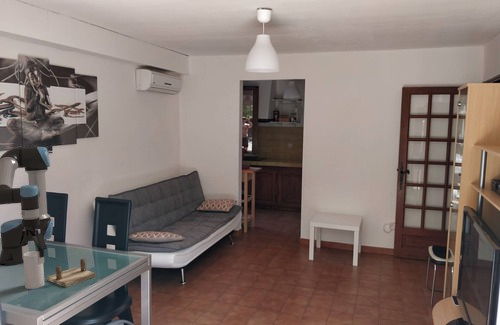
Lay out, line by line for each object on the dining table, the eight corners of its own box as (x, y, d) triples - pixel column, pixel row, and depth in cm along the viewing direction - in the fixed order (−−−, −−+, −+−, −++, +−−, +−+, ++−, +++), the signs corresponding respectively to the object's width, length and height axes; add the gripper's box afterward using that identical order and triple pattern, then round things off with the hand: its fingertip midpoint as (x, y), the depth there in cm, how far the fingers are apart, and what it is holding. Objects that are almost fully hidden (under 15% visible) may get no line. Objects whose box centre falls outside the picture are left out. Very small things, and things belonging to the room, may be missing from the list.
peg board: (47, 280, 204) (46, 264, 204) (76, 270, 218) (75, 256, 217) (66, 287, 196) (65, 271, 195) (95, 276, 209) (94, 261, 208)
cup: (31, 290, 192) (29, 257, 191) (21, 286, 197) (19, 254, 195) (47, 284, 199) (46, 252, 198) (38, 281, 204) (36, 249, 202)
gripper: (9, 216, 198) (11, 259, 200) (37, 222, 185) (39, 268, 187) (24, 213, 205) (27, 254, 207) (53, 219, 191) (55, 263, 193)
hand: (33, 261), depth 197 cm, fingers open, 13 cm apart
